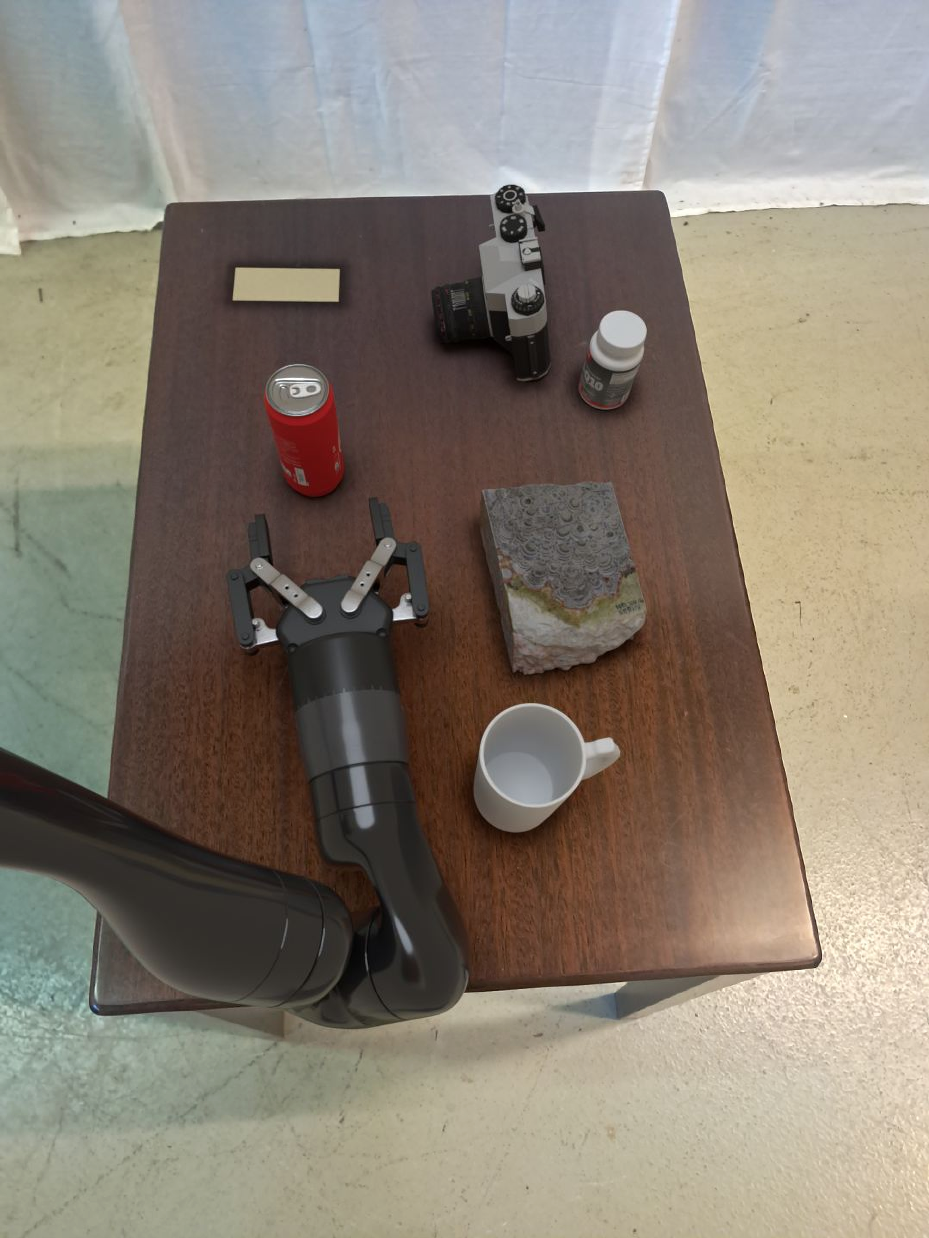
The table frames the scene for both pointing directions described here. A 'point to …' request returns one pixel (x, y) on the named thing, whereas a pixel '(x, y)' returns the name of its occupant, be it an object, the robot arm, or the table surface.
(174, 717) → the table surface
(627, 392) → the pill bottle
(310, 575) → the table surface
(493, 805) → the mug
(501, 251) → the camera
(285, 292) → the strip
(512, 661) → the geological specimen
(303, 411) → the beverage can
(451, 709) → the table surface
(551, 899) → the table surface
